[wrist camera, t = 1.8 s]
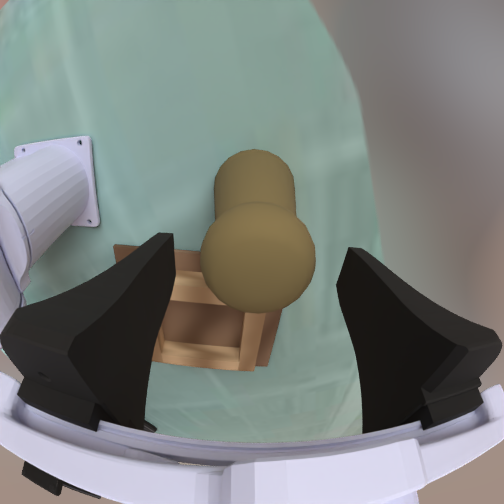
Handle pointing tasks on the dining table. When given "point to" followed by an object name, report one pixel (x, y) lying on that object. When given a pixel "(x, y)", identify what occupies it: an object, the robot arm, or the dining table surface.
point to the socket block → (208, 323)
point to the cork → (256, 236)
